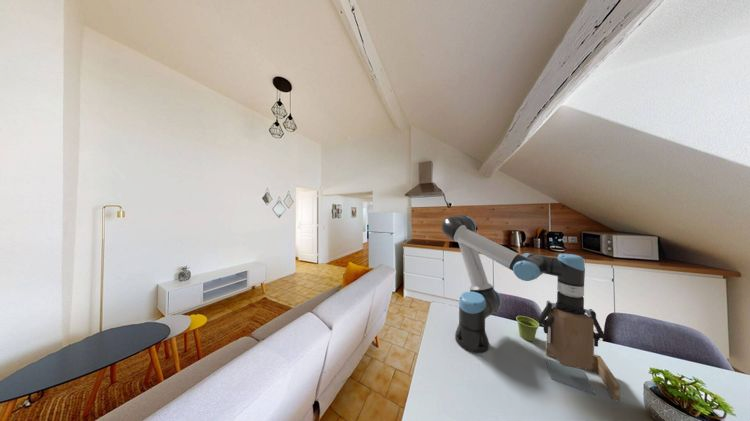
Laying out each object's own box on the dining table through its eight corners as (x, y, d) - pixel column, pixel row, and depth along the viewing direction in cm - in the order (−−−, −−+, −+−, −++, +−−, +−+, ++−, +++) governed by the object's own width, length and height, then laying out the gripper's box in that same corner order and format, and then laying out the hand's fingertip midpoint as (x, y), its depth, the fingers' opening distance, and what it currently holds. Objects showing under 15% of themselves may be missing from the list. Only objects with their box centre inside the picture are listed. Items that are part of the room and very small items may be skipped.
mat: (551, 379, 76) (551, 378, 76) (544, 358, 86) (544, 357, 86) (595, 394, 70) (595, 394, 70) (582, 370, 80) (582, 370, 80)
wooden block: (562, 367, 74) (563, 316, 74) (545, 348, 84) (546, 303, 84) (593, 371, 72) (595, 319, 72) (572, 351, 82) (574, 305, 81)
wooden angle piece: (554, 378, 77) (554, 363, 76) (545, 353, 90) (546, 340, 89) (619, 401, 68) (619, 385, 67) (599, 370, 80) (600, 356, 80)
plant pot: (539, 336, 101) (539, 320, 100) (538, 346, 94) (539, 329, 93) (516, 329, 107) (517, 313, 106) (514, 338, 100) (515, 321, 99)
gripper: (533, 290, 80) (532, 341, 81) (621, 306, 68) (619, 366, 68) (530, 283, 87) (529, 331, 87) (610, 297, 74) (608, 352, 74)
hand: (568, 346), depth 78 cm, fingers closed on wooden block, 12 cm apart
